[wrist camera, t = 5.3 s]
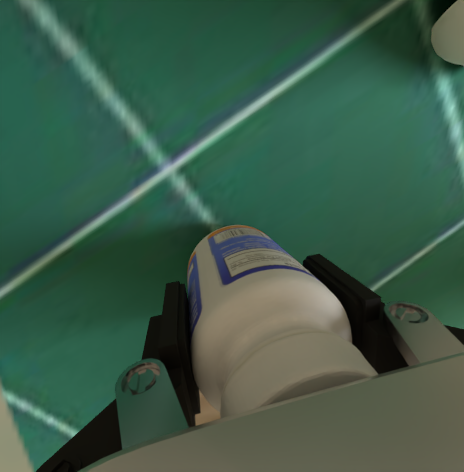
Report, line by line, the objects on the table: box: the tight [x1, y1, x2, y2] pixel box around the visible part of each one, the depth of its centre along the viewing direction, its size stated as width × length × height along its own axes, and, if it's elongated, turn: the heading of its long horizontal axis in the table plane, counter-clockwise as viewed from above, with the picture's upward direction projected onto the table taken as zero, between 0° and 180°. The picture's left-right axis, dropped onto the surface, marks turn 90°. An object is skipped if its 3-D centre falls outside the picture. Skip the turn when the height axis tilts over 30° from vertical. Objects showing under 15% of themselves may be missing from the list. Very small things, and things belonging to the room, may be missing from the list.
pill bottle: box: [187, 225, 378, 419], centre depth 10 cm, size 5×5×10 cm
